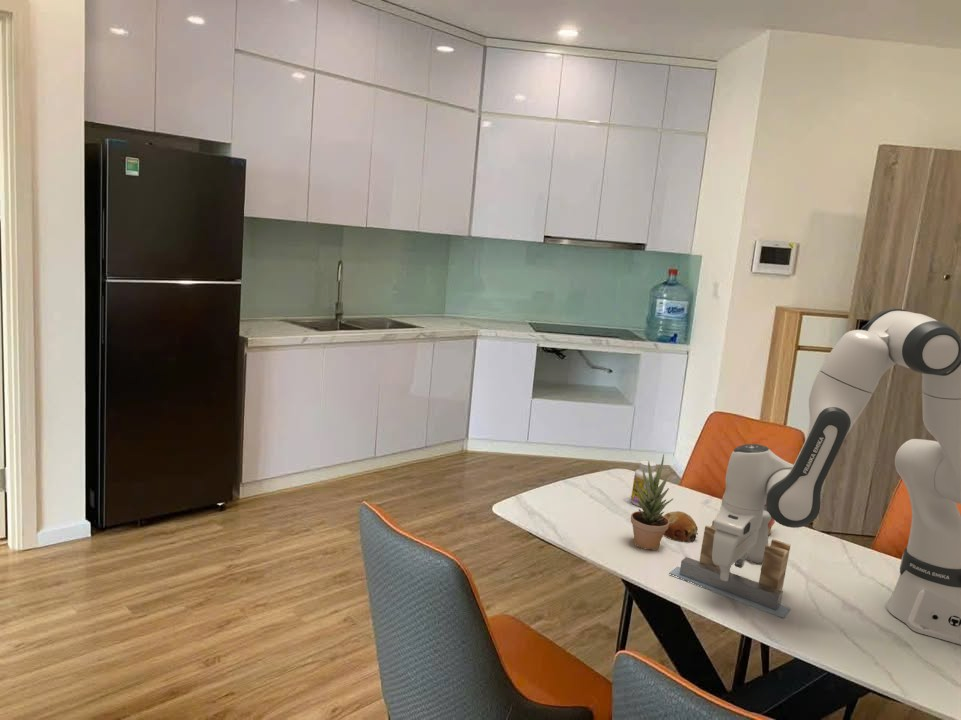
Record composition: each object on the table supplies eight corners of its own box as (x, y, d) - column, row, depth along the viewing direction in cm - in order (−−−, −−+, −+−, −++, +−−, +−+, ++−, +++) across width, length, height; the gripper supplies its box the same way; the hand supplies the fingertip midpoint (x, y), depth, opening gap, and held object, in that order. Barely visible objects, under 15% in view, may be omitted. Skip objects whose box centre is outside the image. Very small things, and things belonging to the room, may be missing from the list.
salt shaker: (768, 566, 180) (777, 517, 178) (744, 562, 181) (752, 513, 179) (764, 557, 185) (772, 509, 183) (740, 553, 186) (749, 505, 184)
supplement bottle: (627, 499, 218) (633, 458, 216) (648, 500, 219) (654, 459, 217) (634, 507, 211) (640, 465, 209) (656, 509, 212) (662, 467, 210)
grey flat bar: (789, 610, 158) (790, 608, 158) (783, 618, 154) (784, 616, 154) (677, 568, 173) (677, 566, 173) (668, 574, 169) (669, 572, 169)
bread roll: (684, 541, 200) (681, 511, 202) (707, 540, 191) (704, 509, 193) (653, 542, 197) (650, 512, 199) (675, 542, 187) (672, 510, 189)
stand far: (722, 568, 176) (730, 525, 174) (714, 576, 171) (721, 531, 169) (706, 562, 178) (713, 520, 176) (697, 570, 174) (705, 526, 172)
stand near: (782, 589, 168) (790, 544, 166) (774, 598, 163) (783, 552, 161) (764, 583, 170) (772, 539, 168) (756, 592, 165) (765, 546, 163)
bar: (779, 606, 159) (782, 591, 158) (776, 610, 156) (778, 595, 156) (684, 570, 171) (686, 556, 171) (679, 574, 169) (681, 560, 168)
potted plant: (635, 552, 180) (649, 457, 176) (622, 536, 189) (635, 446, 185) (672, 553, 182) (687, 459, 177) (658, 537, 191) (671, 448, 187)
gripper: (742, 500, 171) (733, 554, 174) (710, 522, 155) (701, 582, 158) (769, 507, 167) (760, 563, 170) (740, 531, 151) (730, 592, 154)
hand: (732, 572), depth 164 cm, fingers open, 8 cm apart
